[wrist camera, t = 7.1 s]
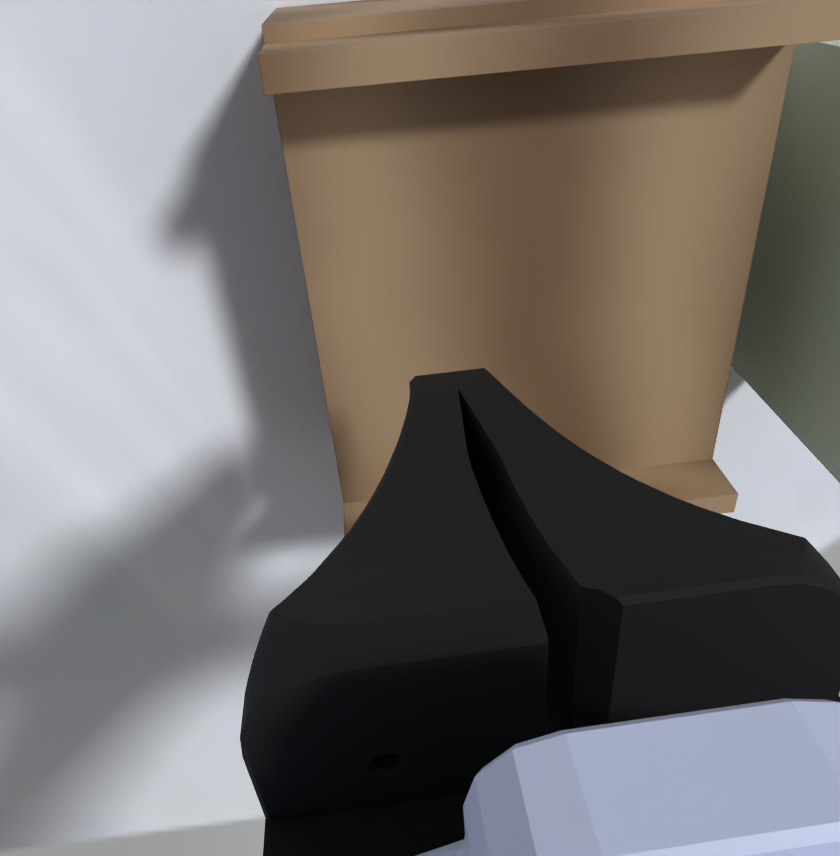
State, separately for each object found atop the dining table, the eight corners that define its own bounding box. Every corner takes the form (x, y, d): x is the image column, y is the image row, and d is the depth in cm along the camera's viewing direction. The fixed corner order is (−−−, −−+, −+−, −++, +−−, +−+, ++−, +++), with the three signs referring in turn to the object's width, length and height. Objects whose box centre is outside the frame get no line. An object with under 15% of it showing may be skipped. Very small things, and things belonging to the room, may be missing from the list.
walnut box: (346, 443, 23) (349, 567, 18) (276, 8, 16) (253, 34, 11) (654, 407, 23) (731, 520, 19) (713, -32, 16) (857, -22, 12)
